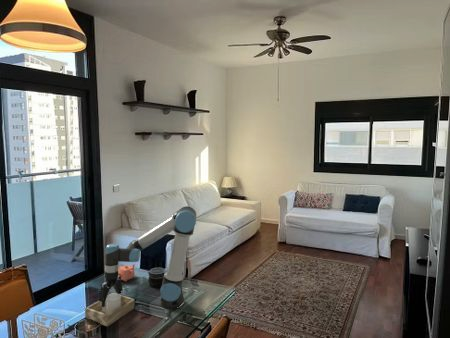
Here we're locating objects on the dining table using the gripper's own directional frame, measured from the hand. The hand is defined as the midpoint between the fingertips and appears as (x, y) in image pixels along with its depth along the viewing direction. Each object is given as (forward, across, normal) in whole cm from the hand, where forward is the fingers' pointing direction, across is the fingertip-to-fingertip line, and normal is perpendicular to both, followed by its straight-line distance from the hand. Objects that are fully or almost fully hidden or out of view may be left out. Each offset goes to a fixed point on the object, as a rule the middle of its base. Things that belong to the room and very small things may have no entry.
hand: (110, 307), depth 191 cm
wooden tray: (+4, 0, 0) cm, 4 cm away
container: (+4, -46, 0) cm, 46 cm away
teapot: (+4, -41, -24) cm, 48 cm away
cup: (+3, 0, 0) cm, 3 cm away
